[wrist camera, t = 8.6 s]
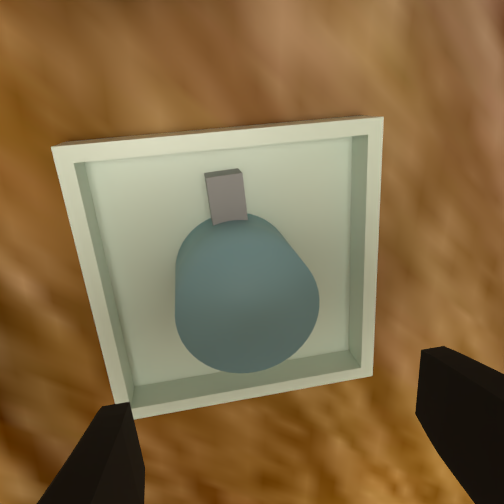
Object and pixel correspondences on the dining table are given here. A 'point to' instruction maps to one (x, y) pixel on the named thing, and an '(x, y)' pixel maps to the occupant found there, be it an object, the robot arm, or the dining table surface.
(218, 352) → the tabbed cylinder
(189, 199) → the tray
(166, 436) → the dining table surface
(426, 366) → the robot arm
